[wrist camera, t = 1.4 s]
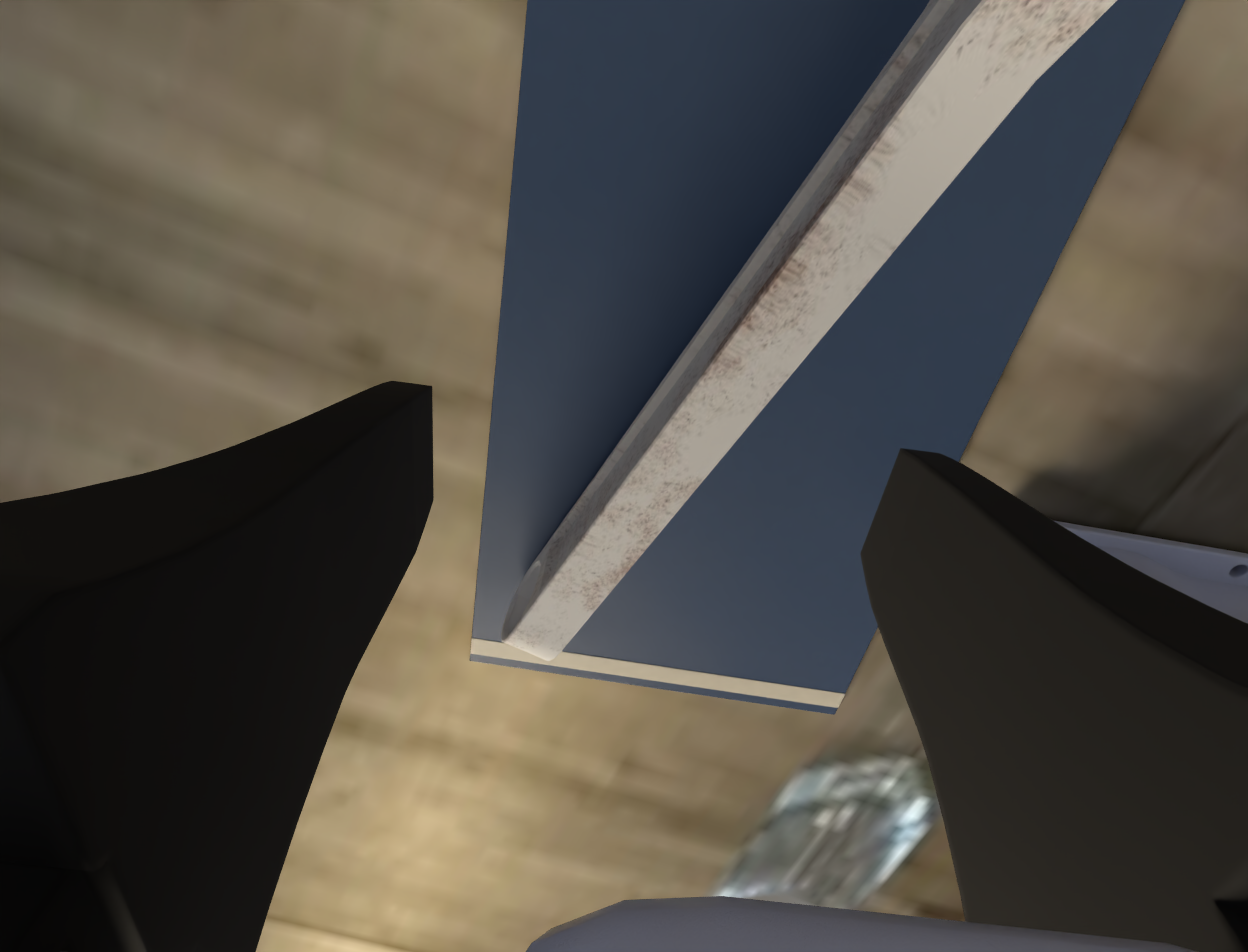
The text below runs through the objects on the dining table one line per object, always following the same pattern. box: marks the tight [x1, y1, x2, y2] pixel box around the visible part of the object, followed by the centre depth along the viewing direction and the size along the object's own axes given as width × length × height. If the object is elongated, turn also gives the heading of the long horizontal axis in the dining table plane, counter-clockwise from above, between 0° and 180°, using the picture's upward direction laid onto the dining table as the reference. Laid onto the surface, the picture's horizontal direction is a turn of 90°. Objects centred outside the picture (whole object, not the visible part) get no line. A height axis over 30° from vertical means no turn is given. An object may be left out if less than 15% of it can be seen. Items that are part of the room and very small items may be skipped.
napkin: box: [470, 0, 1185, 714], centre depth 18 cm, size 14×34×1 cm, turn 170°
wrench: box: [501, 0, 1117, 661], centre depth 15 cm, size 8×2×30 cm
